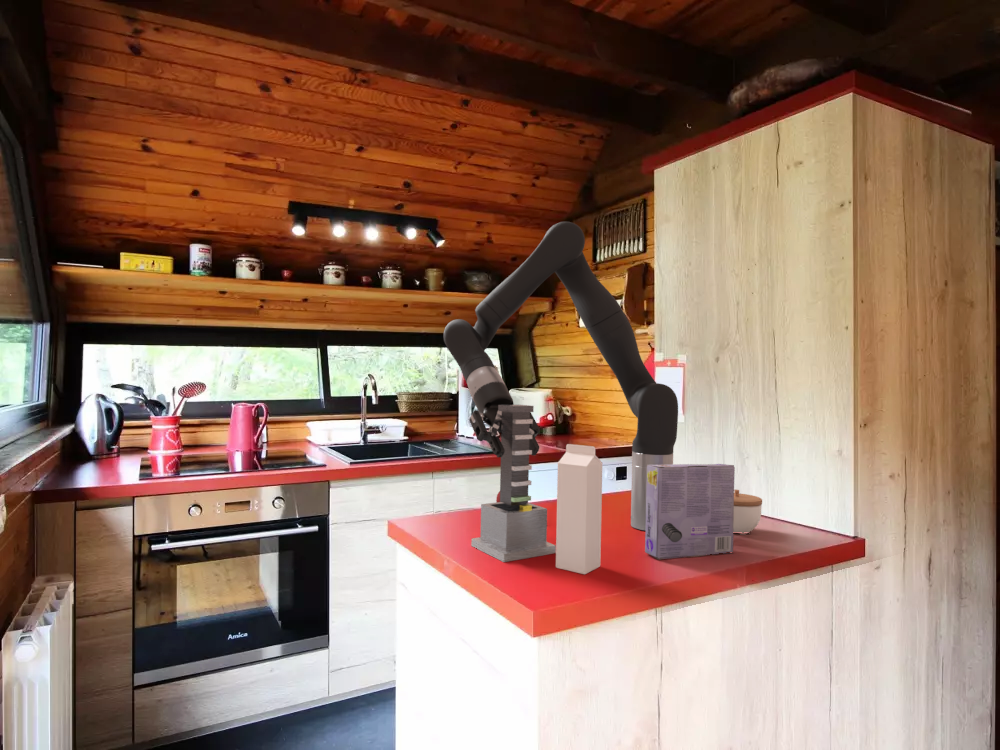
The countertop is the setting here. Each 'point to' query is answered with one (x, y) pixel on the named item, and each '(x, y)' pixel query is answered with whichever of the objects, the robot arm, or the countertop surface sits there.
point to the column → (515, 454)
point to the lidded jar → (746, 512)
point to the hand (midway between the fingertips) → (519, 453)
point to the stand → (513, 531)
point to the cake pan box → (689, 510)
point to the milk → (579, 510)
